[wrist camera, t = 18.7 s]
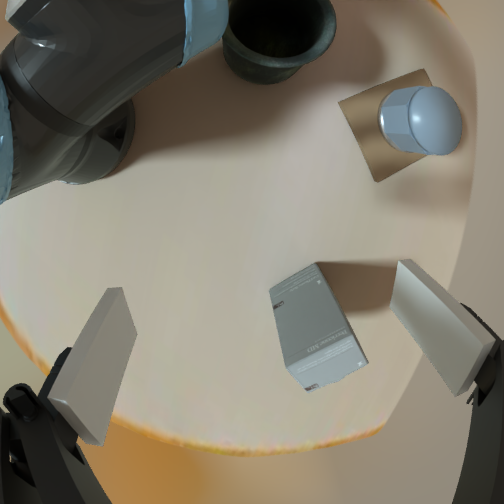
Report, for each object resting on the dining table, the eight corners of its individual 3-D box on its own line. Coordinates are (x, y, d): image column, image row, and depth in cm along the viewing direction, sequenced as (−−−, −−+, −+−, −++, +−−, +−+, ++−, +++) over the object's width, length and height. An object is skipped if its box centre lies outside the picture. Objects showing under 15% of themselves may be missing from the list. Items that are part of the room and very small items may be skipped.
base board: (337, 102, 32) (340, 101, 31) (420, 69, 30) (423, 68, 29) (374, 181, 37) (377, 182, 36) (448, 139, 35) (452, 140, 34)
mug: (214, 83, 31) (206, 59, 20) (230, -9, 25) (231, -57, 14) (300, 95, 32) (331, 78, 21) (311, 4, 26) (341, -37, 15)
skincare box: (314, 260, 41) (355, 327, 26) (334, 295, 44) (373, 364, 29) (264, 290, 42) (281, 367, 28) (287, 321, 45) (309, 398, 30)
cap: (411, 161, 34) (442, 169, 28) (371, 120, 32) (400, 119, 25) (438, 121, 32) (470, 123, 25) (402, 79, 29) (432, 72, 23)
